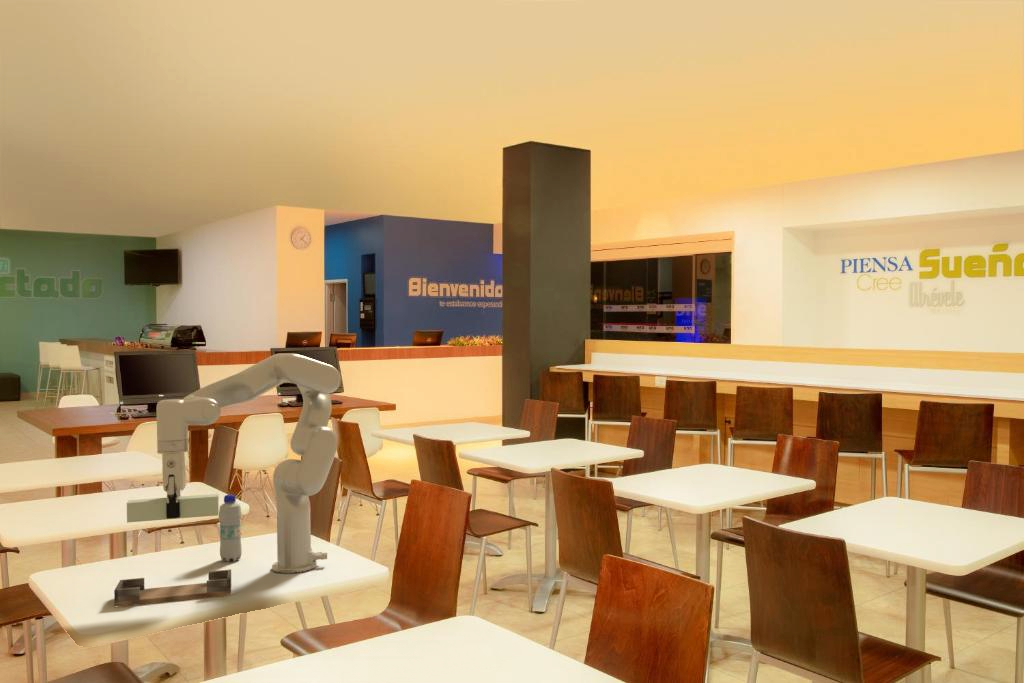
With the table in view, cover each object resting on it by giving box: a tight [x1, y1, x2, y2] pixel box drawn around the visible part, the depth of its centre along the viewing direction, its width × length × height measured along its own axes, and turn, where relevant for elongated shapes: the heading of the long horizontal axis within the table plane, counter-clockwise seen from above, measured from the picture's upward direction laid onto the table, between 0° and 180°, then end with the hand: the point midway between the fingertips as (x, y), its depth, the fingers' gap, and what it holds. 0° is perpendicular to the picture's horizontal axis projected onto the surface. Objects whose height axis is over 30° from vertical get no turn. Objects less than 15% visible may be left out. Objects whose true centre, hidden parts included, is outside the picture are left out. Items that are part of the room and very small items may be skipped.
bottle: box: [218, 493, 243, 563], centre depth 248 cm, size 7×7×20 cm
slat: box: [126, 493, 220, 523], centre depth 214 cm, size 22×4×5 cm, turn 108°
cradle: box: [113, 568, 232, 607], centre depth 214 cm, size 28×10×4 cm, turn 108°
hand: (174, 515), depth 214 cm, fingers closed on slat, 4 cm apart
